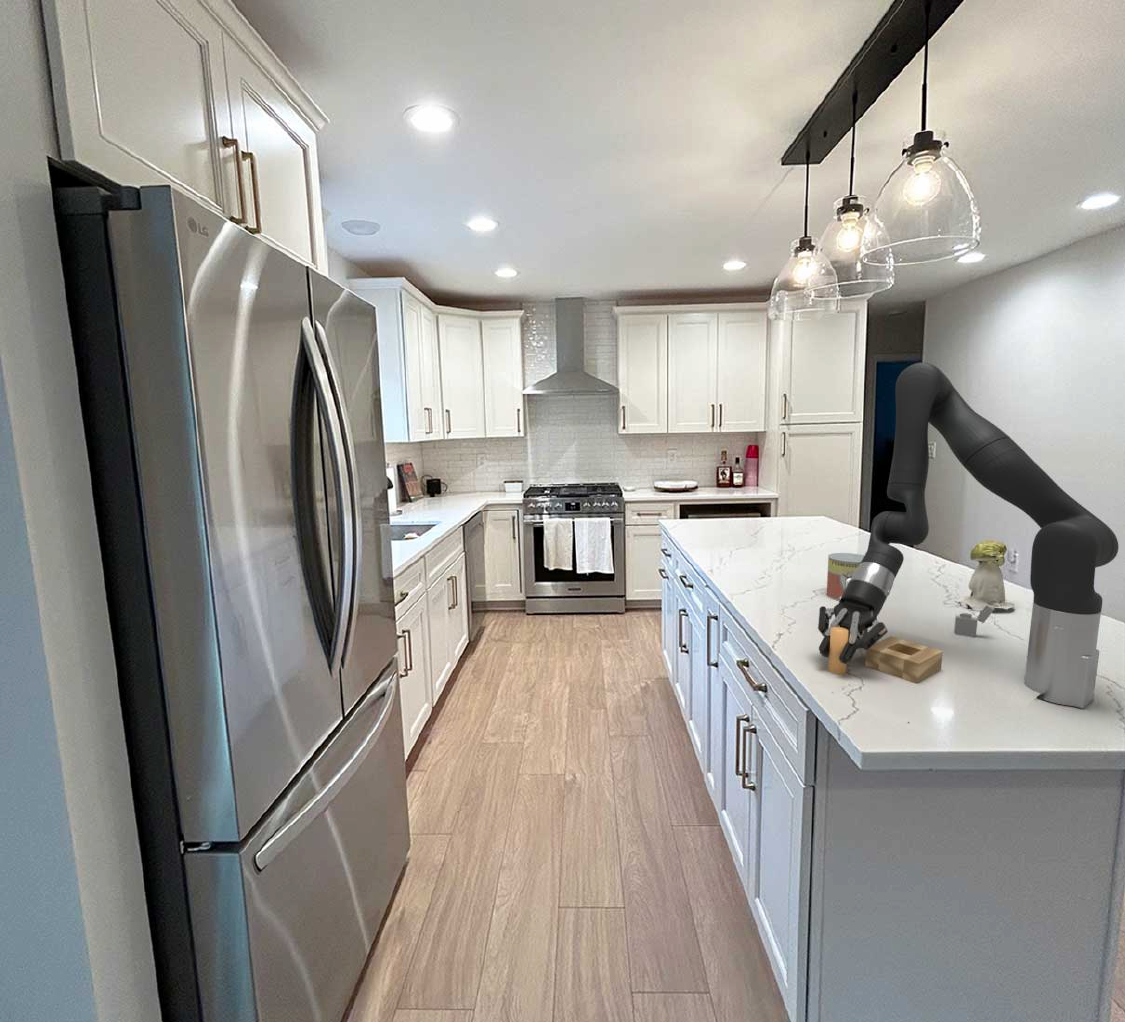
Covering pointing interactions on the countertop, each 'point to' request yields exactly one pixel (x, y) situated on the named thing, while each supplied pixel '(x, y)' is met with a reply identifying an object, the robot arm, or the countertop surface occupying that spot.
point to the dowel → (837, 649)
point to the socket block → (904, 659)
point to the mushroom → (987, 578)
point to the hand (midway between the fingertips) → (832, 657)
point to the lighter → (971, 622)
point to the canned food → (840, 572)
